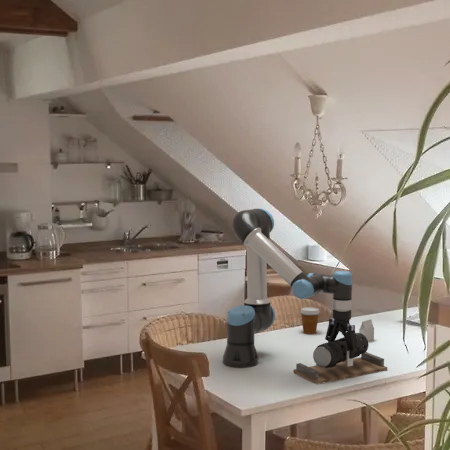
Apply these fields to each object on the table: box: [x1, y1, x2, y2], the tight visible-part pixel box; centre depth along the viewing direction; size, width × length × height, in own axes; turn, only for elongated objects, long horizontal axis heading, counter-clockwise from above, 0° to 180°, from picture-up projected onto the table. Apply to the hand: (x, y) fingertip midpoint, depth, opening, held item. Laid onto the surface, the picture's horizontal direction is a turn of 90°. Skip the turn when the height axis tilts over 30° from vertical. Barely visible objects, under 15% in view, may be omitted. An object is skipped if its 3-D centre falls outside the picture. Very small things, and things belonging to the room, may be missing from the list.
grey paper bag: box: [358, 319, 375, 343], centre depth 327 cm, size 4×7×10 cm, turn 133°
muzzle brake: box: [312, 332, 370, 368], centre depth 281 cm, size 10×28×10 cm, turn 137°
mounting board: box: [292, 351, 388, 385], centre depth 281 cm, size 36×16×4 cm, turn 119°
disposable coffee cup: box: [300, 306, 320, 335], centre depth 341 cm, size 10×10×12 cm
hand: (340, 362), depth 281 cm, fingers closed on muzzle brake, 11 cm apart
